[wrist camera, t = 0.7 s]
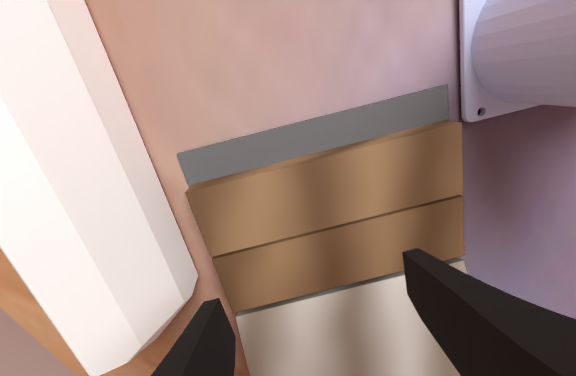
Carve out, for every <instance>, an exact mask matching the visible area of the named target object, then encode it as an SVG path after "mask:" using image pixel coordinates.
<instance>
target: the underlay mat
mask: <svg viewBox="0 0 576 376" xmlns="http://www.w3.org/2000/svg"><path fill="white" fill-rule="evenodd" d="M443 120H449V103H448V85H442V86H438V87H434V88H430V89H426V90H423V91H419V92H415V93H411V94H407V95H403V96H399V97H395V98H391V99H387V100H384V101H380V102H376V103H372V104H368V105H364V106H360V107H356V108H352V109H348V110H345V111H341V112H337V113H333V114H329V115H325V116H321V117H317V118H313V119H309V120H305V121H302V122H298V123H294V124H290V125H286V126H282V127H278V128H274V129H270V130H266V131H263V132H259V133H255V134H251V135H247V136H243V137H239V138H235V139H231V140H227V141H224V142H220V143H216V144H212V145H208V146H204V147H200V148H196V149H192V150H188V151H185V152H181V153H178V154H177V157H178V159H179V162H180V165H181V167H182V170H183V172H184V175H185V177H186V180H187V182H188V185H189V187H190V186H191V185H192V184H195V183H199V182H203V181H207V180H211V179H215V178H219V177H223V176H227V175H231V174H235V173H238V172H242V171H246V170H250V169H254V168H258V167H262V166H266V165H270V164H274V163H278V162H282V161H286V160H290V159H293V158H297V157H301V156H305V155H309V154H313V153H317V152H321V151H325V150H329V149H333V148H337V147H341V146H344V145H348V144H352V143H356V142H360V141H364V140H368V139H372V138H376V137H380V136H384V135H388V134H392V133H396V132H399V131H403V130H407V129H411V128H415V127H419V126H423V125H427V124H431V123H435V122H439V121H443Z"/></svg>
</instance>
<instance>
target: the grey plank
mask: <svg viewBox="0 0 576 376" xmlns="http://www.w3.org/2000/svg"><path fill="white" fill-rule="evenodd" d="M443 262H445V263H447V264H449V265H450V266H452V267H454V268H456V269H458V270H460V271H462V272H464V273H466V274H467V270H466V266H465V263H464V260H461V259H459V258H453V259H449V260H445V261H443ZM236 321H237V326H238V330H239V334H240V338H241V342H242V346H243V350H244V354H245V358H246V362H247V366H248V370H249V375H250V376H461V375H460V374H459V373H458V371H457V370H456V368H455V367H454V365H453V364H452V363H451V361H450V360H449V358H448V357H447V356H446V354H445V353H444V351H443V350H442V349H441V347H440V346H439V344H438V343H437V341H436V340H435V339H434V337H433V336H432V334H431V333H430V331H429V330H428V329H427V327H426V326H425V324H424V323H423V321H422V320H421V318H420V317H419V315H418V313H417V311H416V309H415V308H414V306H413V304H412V302H411V300H410V298H409V296H408V295H407V288H406V280H405V271H400V272H396V273H392V274H388V275H384V276H380V277H376V278H372V279H368V280H364V281H360V282H356V283H352V284H348V285H344V286H340V287H336V288H332V289H328V290H324V291H320V292H315V293H311V294H307V295H303V296H299V297H295V298H291V299H287V300H283V301H279V302H275V303H271V304H267V305H263V306H259V307H255V308H251V309H247V310H243V311H239V312H238V313H237V315H236Z"/></svg>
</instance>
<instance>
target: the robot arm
mask: <svg viewBox="0 0 576 376" xmlns="http://www.w3.org/2000/svg"><path fill="white" fill-rule="evenodd" d="M459 12H460V67H461V116H462V119H463V120H464V121H466V122H476V121H480V120H484V119H487V118H491V117H495V116H499V115H503V114H507V113H511V112H515V111H519V110H523V109H527V108H531V107H535V106H539V105H556V106H571V107H576V0H459ZM480 108H481V113H480V114H479V115H478V114H477V112H478V110H479V109H480ZM402 255H403V263H404V271H405V280H406V288H407V295H408V296H409V298H410V300H411V302H412V304H413V306H414V308H415V309H416V311H417V313H418V315H419V317H420V318H421V320H422V321H423V323H424V324H425V326H426V327H427V329H428V330H429V331H430V333H431V334H432V336H433V337H434V339H435V340H436V341H437V343H438V344H439V346H440V347H441V349H442V350H443V351H444V353H445V354H446V356H447V357H448V358H449V360H450V361H451V363H452V364H453V365H454V367H455V368H456V370H457V371H458V373H459V374H460V375H461V376H576V319H573V318H570V317H567V316H564V315H561V314H559V313H556V312H553V311H550V310H547V309H545V308H542V307H540V306H537V305H535V304H532V303H530V302H527V301H524V300H522V299H520V298H517V297H515V296H512V295H510V294H508V293H506V292H503V291H501V290H499V289H497V288H495V287H492V286H490V285H488V284H486V283H484V282H482V281H480V280H478V279H476V278H474V277H472V276H470V275H468V274H466V273H464V272H462V271H460V270H458V269H456V268H454V267H452V266H450V265H449V264H447V263H445V262H443V261H441V260H439V259H438V258H436V257H434V256H432V255H430V254H428V253H427V252H425V251H423V250H421V249H419V248H416V249H412V250H408V251H404V252H402ZM234 368H235V334H234V332H233V330H232V327H231V325H230V323H229V320H228V318H227V316H226V313H225V311H224V309H223V306H222V304H221V302H220V299H219V298H218V299H214V300H210V301H206V302H203V304H202V305H201V307H200V308H199V309H198V311H197V312H196V314H195V315H194V317H193V318H192V320H191V321H190V323H189V324H188V325H187V327H186V328H185V330H184V331H183V333H182V334H181V336H180V337H179V338H178V340H177V341H176V343H175V344H174V346H173V347H172V348H171V350H170V351H169V353H168V354H167V355H166V356H165V358H164V359H163V360H162V362H161V363H160V364H159V366H158V367H157V368H156V370H155V371H154V372H153V374H152V375H151V376H234Z"/></svg>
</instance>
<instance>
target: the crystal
mask: <svg viewBox="0 0 576 376" xmlns="http://www.w3.org/2000/svg"><path fill="white" fill-rule="evenodd" d="M48 3H49V4H48ZM49 5H50V6H49ZM50 7H51V8H50ZM53 14H54V15H53ZM54 16H55V17H54ZM55 18H56V19H55ZM58 25H59V26H58ZM59 27H60V28H59ZM60 29H61V30H60ZM63 36H64V37H63ZM64 38H65V39H64ZM65 40H66V41H65ZM68 47H69V48H68ZM69 49H70V50H69ZM70 51H71V52H70ZM73 58H74V59H73ZM74 60H75V61H74ZM75 62H76V63H75ZM78 69H79V70H78ZM79 71H80V72H79ZM80 73H81V74H80ZM83 80H84V81H83ZM84 82H85V83H84ZM88 91H89V92H88ZM89 93H90V94H89ZM93 102H94V103H93ZM94 104H95V105H94ZM98 113H99V114H98ZM99 115H100V116H99ZM103 124H104V125H103ZM104 126H105V127H104ZM108 135H109V136H108ZM109 137H110V138H109ZM113 146H114V147H113ZM114 148H115V149H114ZM118 157H119V158H118ZM119 159H120V160H119ZM123 168H124V169H123ZM124 170H125V171H124ZM129 181H130V182H129ZM134 192H135V193H134ZM139 203H140V204H139ZM144 214H145V215H144ZM149 225H150V226H149ZM0 249H1V250H2V252H3V253H4V254H5V256H6V257H7V259H8V260H9V262H10V263H11V265H12V266H13V267H14V269H15V270H16V272H17V273H18V275H19V276H20V278H21V279H22V280H23V282H24V283H25V285H26V286H27V288H28V289H29V291H30V292H31V293H32V295H33V296H34V298H35V299H36V301H37V302H38V304H39V305H40V306H41V308H42V309H43V311H44V312H45V314H46V315H47V317H48V318H49V319H50V321H51V322H52V324H53V325H54V327H55V328H56V330H57V331H58V332H59V334H60V335H61V337H62V338H63V340H64V341H65V343H66V344H67V345H68V347H69V348H70V350H71V351H72V353H73V354H74V356H75V357H76V358H77V360H78V361H79V363H80V364H81V365H82V367H83V368H84V370H85V371H86V372H87V374H88V375H89V376H100V375H102V374H104V373H106V372H108V371H110V370H113V369H115V368H117V367H119V366H121V365H123V364H126V363H128V362H129V361H130V360H131V359H133V358H134V357H135V356H136V355H137V354H139V353H140V352H141V351H142V350H143V349H145V348H146V347H147V346H148V345H149V344H151V343H152V342H153V341H154V340H155V339H157V338H158V336H159V335H160V334H161V333H162V332H163V330H164V329H165V328H166V327H167V326H168V324H169V323H170V322H171V321H172V320H173V318H174V317H175V316H176V315H177V313H178V312H179V311H180V310H181V309H182V307H183V306H184V305H185V304H186V303H187V301H188V300H189V299H190V298H191V297H192V294H193V291H194V287H195V284H196V281H197V278H198V274H197V271H196V269H195V266H194V264H193V261H192V259H191V257H190V254H189V252H188V249H187V247H186V245H185V242H184V240H183V237H182V235H181V233H180V230H179V228H178V225H177V223H176V220H175V218H174V216H173V213H172V211H171V208H170V206H169V204H168V201H167V199H166V196H165V194H164V191H163V189H162V187H161V184H160V182H159V179H158V177H157V175H156V172H155V170H154V167H153V165H152V163H151V160H150V158H149V155H148V153H147V150H146V148H145V146H144V143H143V141H142V138H141V136H140V134H139V131H138V129H137V126H136V124H135V122H134V119H133V117H132V114H131V112H130V109H129V107H128V105H127V102H126V100H125V97H124V95H123V93H122V90H121V88H120V85H119V83H118V80H117V78H116V76H115V73H114V71H113V68H112V66H111V64H110V61H109V59H108V56H107V54H106V52H105V49H104V47H103V44H102V42H101V39H100V37H99V35H98V32H97V30H96V27H95V25H94V23H93V20H92V18H91V15H90V13H89V11H88V8H87V6H86V3H85V1H84V0H0Z"/></svg>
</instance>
